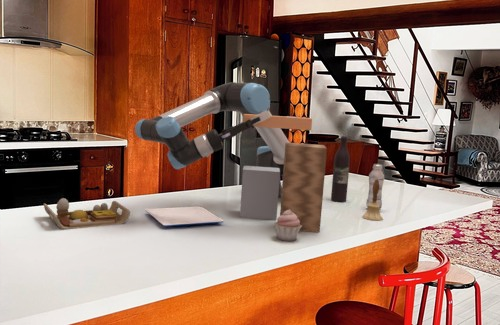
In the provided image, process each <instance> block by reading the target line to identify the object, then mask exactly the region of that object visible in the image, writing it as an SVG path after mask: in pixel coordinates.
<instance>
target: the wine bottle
mask: <svg viewBox="0 0 500 325" xmlns="http://www.w3.org/2000/svg"><path fill="white" fill-rule="evenodd" d="M347 141H348V136H345V135H342V136H341V137H340V146H339V147H338V150H337V151H336V153H335V155H334V160H333V170H332V171H333V172H332V181H331V194H330V200H331V201H333V202H336V203H345V202H347V198H348V196H347V195H348V186H349V185H348V184H349V175H350V166H351V165H350V164H351V162H350V161H351V156H350V152H349V150H348V147H347Z"/></svg>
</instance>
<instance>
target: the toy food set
mask: <svg viewBox="0 0 500 325" xmlns="http://www.w3.org/2000/svg"><path fill="white" fill-rule="evenodd" d="M43 208H44V210H45V212H46V214H47V215H48V216H49V218H51V220H52V221H53V222H54V223H55V224H56V225H57V226H58V227H59V228H60V229H61V230H63V231H65V230H74V229H86V228H97V227H106V226H108V227H109V226H117V225H124V224H126V222H127V221H128V220H129V218H130V216H131V215H130V214H131V211H130V210H129V209H128V208H127V207H125V206H124V205H122V204H121V203H120V202H118V201H117V200H113V201H111V205H110V207H109V205H108V204H107V203H105V202H103V203H101V204H100V205H99V204H95V205H94V206H93V208H92V209H91V210H90V209H89V210H83V209H76V210H73V211H69V208H70V203H69V200H68V199H66V198H64V197H62V198H60V199H59V200H58V201H57V203H56V213H55V212H54V211H53V210H52V209H51V208H50V207H49V205H48V204H46V203H43ZM119 209H120V210H121V213H119V212H118V210H119Z"/></svg>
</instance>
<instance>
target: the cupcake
mask: <svg viewBox="0 0 500 325" xmlns="http://www.w3.org/2000/svg"><path fill="white" fill-rule="evenodd" d="M273 226H274V228H275V231H276V238H277V239H278V240H280V241H284V242H293V241H296V240H297V238H298V234H299V230H300V228H301V227H302V225H300V221H299V219H298V217H297V216H296V215H295V214H294V213H293V212H291V210H287V211H285V212H284V213H283V214H282V215H281V216H280V215H279V216H278V217H277V220H276V221H275V223H273Z"/></svg>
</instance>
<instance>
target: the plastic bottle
mask: <svg viewBox="0 0 500 325" xmlns="http://www.w3.org/2000/svg"><path fill="white" fill-rule="evenodd" d="M382 170H383V164H380V163H374V164H373V166H372V170H371V172H369V174H368V195H367V199H366V202H365V203H366V204H365V205H366V206H365V207H366V208H368V205H369V204H371V203H372V200H373V184H374V182H375V179H377V180H379V192H378V194H377V201H376V204H377V205H379V209H380V210H381V209H382V205H383V200H382V192H383V191H382V190H383V185H384V182H385V174H384V172H383V171H382Z"/></svg>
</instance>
